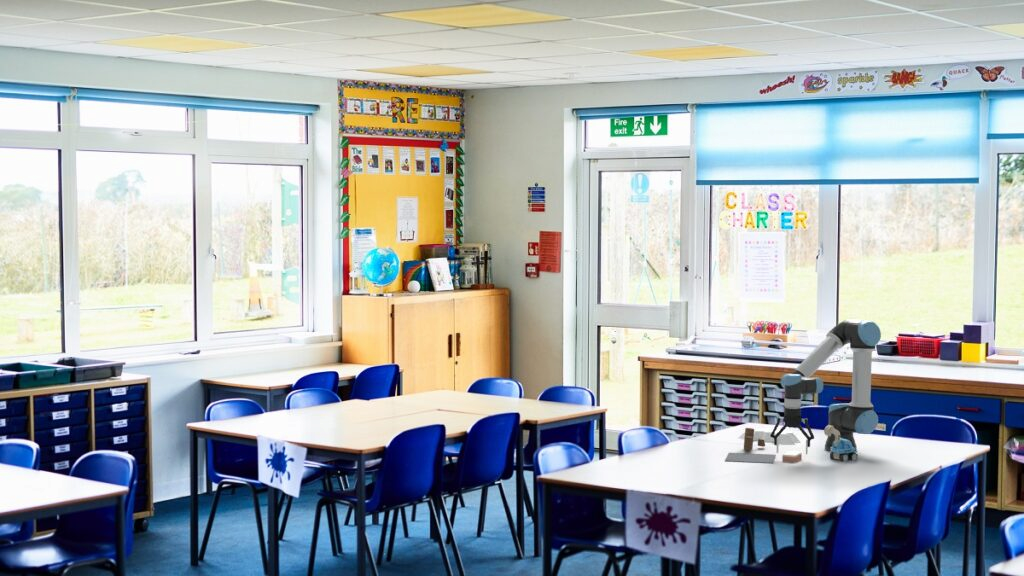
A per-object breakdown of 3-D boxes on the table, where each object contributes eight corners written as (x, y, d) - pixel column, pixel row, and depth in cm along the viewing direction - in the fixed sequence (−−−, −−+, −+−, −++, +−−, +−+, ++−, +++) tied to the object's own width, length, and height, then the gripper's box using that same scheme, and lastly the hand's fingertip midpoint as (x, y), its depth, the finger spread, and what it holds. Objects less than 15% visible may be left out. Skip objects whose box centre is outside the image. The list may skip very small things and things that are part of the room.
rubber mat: (775, 456, 583) (775, 454, 583) (773, 464, 562) (773, 462, 562) (728, 454, 589) (728, 452, 589) (724, 462, 567) (724, 460, 567)
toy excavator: (818, 460, 572) (819, 424, 571) (846, 458, 579) (846, 422, 579) (831, 464, 564) (831, 426, 563) (858, 461, 572) (859, 424, 571)
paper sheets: (812, 443, 625) (812, 432, 625) (793, 447, 611) (793, 436, 610) (752, 435, 649) (752, 425, 649) (732, 439, 634) (732, 429, 634)
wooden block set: (753, 454, 589) (755, 433, 588) (736, 451, 593) (738, 430, 593) (765, 449, 605) (767, 428, 604) (748, 446, 609) (750, 426, 608)
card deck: (801, 460, 573) (801, 452, 573) (795, 464, 565) (795, 455, 564) (789, 459, 576) (789, 451, 576) (782, 462, 568) (782, 454, 567)
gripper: (820, 407, 570) (819, 453, 571) (766, 405, 576) (765, 450, 577) (819, 409, 563) (819, 455, 563) (765, 407, 569) (764, 453, 570)
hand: (792, 453), depth 570 cm, fingers open, 12 cm apart
